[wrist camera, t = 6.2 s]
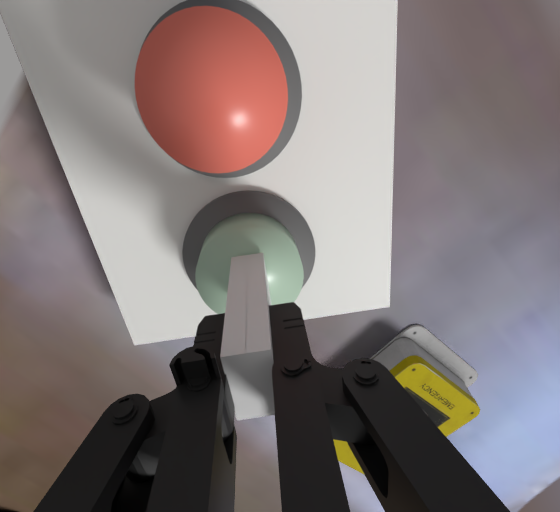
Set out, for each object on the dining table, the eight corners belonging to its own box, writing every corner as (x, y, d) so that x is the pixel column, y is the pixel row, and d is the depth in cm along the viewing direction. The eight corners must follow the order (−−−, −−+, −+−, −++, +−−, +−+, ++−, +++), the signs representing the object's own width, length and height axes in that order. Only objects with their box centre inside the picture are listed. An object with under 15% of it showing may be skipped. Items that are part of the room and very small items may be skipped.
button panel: (147, 316, 24) (132, 349, 21) (-68, -275, 12) (-175, -399, 9) (373, 282, 24) (391, 310, 21) (374, -325, 12) (414, -461, 9)
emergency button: (513, 414, 25) (366, 511, 30) (478, 370, 29) (353, 461, 34) (442, 356, 22) (288, 474, 26) (413, 316, 26) (283, 424, 30)
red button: (171, 170, 15) (159, 182, 13) (133, 29, 12) (112, 17, 10) (289, 153, 15) (295, 163, 13) (273, 10, 13) (278, -5, 11)
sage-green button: (212, 305, 19) (208, 329, 17) (190, 220, 17) (183, 237, 15) (302, 292, 20) (308, 314, 18) (292, 205, 17) (298, 220, 15)
